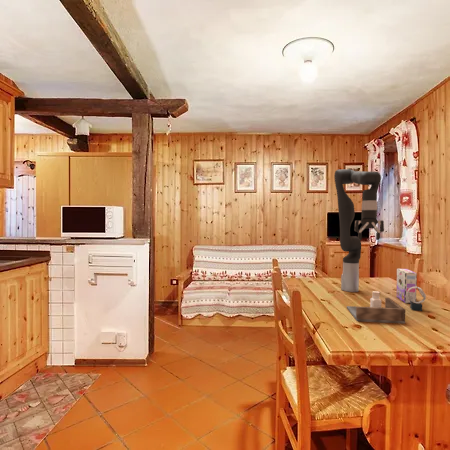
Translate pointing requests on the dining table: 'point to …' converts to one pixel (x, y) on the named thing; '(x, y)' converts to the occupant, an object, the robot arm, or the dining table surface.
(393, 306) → the corner wooden bin
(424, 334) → the dining table surface
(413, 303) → the watch
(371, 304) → the pepper shaker
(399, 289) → the candy box
